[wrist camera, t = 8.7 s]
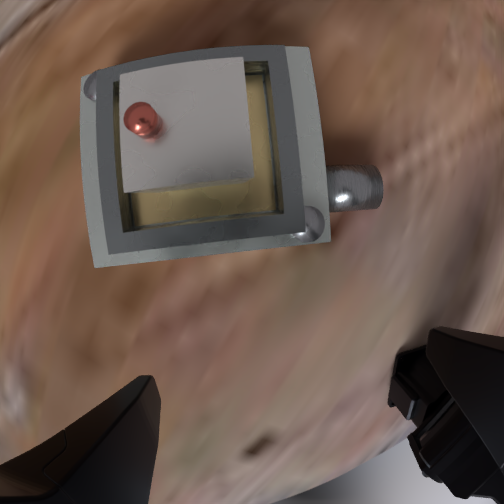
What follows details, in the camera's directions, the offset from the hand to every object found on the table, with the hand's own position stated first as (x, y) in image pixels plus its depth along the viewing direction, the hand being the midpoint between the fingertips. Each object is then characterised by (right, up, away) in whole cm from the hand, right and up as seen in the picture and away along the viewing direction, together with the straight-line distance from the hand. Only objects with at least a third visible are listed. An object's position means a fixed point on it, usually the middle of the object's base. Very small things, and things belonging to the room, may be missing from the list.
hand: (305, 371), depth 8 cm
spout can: (-4, +9, +7) cm, 12 cm away
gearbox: (-3, +10, +11) cm, 15 cm away
